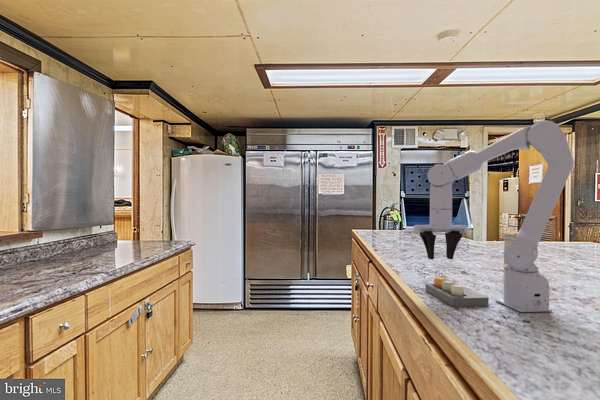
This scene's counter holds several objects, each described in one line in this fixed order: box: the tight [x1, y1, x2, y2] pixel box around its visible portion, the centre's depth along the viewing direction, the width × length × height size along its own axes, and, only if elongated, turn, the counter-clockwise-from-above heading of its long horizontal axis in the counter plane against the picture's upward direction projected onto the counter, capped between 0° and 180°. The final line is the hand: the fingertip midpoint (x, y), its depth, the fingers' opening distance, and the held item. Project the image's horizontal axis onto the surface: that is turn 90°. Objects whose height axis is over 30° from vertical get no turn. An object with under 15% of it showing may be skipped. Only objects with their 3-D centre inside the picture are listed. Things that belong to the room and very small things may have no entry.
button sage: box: [442, 280, 456, 292], centre depth 98 cm, size 3×3×2 cm
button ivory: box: [451, 284, 465, 296], centre depth 93 cm, size 3×3×2 cm
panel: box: [424, 282, 489, 308], centre depth 97 cm, size 15×9×2 cm, turn 6°
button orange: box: [433, 276, 447, 288], centre depth 102 cm, size 3×3×2 cm
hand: (440, 258), depth 102 cm, fingers open, 5 cm apart
